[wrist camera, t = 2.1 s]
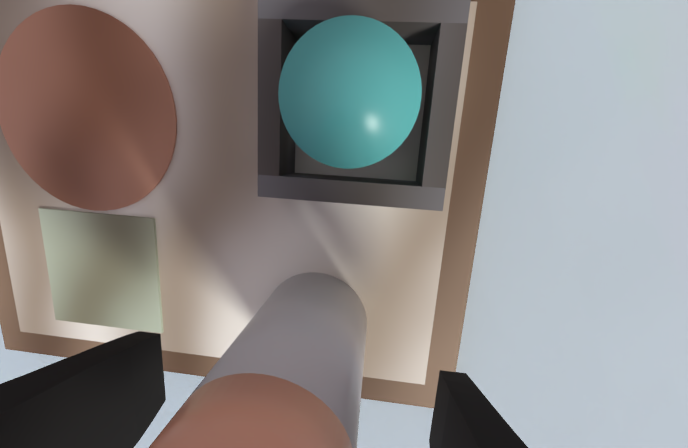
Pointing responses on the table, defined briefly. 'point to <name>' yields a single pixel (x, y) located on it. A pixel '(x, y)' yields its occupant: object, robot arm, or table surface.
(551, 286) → the table surface
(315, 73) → the button
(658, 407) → the table surface
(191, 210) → the beige base plate
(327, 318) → the capsule peg
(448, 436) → the robot arm
